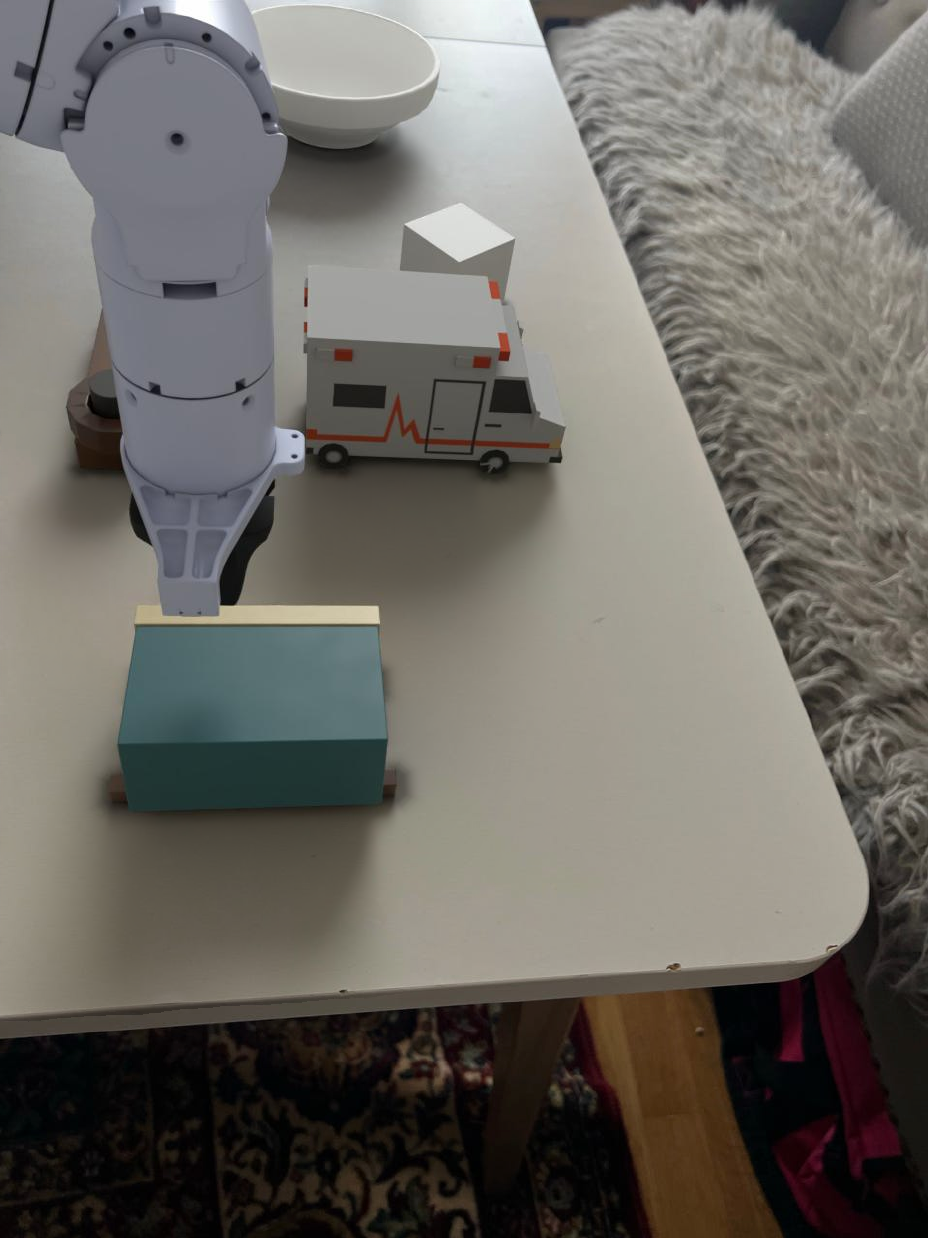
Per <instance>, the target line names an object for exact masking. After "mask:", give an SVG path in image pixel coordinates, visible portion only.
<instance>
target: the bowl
mask: <svg viewBox="0 0 928 1238" xmlns="http://www.w3.org/2000/svg"><path fill="white" fill-rule="evenodd" d="M250 12H251V14H252V17H253V19H254V21H255V25H256V28H257V31H258V35H259V39H260V43H261V47H262V51H263V55H264V58H265V62H266V66H267V70H268V74H269V77H270V81H271V85H272V89H273V92H274V96H275V100H276V104H277V108H278V115H279V125H280V128H281V130H283V132H284V133H286V134H287V135H288V136H290V137H291V138H293V139H295V140H297V141H299V142H302V143H304V144H307V145H309V146H314V147H318V148H323V149H337V150H341V149H342V150H343V149H353V148H359V147H364V146H366V145H368V144H371V143H372V142H374V141H376V140H377V139H378V138H379V137H380V135H382V133H384V132H385V131H388V130H389V129H391V128H394V127H396V126H397V125H399V124H401V123H403V122H406V121H408V120H410V119H412V118H415V117H416V116H418V115H420V114H421V113H422V112H423V111H425V110H426V109H427V108H428V107H429V105H430V104H431V102H432V101H433V98H434V95H435V93H436V90H437V87H438V84H439V78H440V72H441V64H442V62H441V58H440V56H439V53H438V51H437V50H436V49H435V47H434V46H433V45H432V43H431V42H430V41H428V40H427V39H426V38H425V36H422V34H421V33H419V32H417V31H415V30H414V29H412V28H410V27H409V26H407V25H405V24H403V23H400V22H398V21H397V20H395V19H392V18H389V17H385V16H382V15H379V14H377V13H374V12H370V11H365V10H361V9H357V8H351V7H346V6H339V5H331V4H321V3H320V4H318V3H292V4H281V5H272V6H268V7H262V8H258V9H256V10H252V11H250Z"/></svg>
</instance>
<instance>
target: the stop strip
mask: <svg viewBox="0 0 928 1238" xmlns="http://www.w3.org/2000/svg"><path fill="white" fill-rule="evenodd" d="M397 788H398V781H397V769H396V768H385V774H384V784H383V794H382V796H386V795H387V796H388V795H389V796H390V795H391V796H393V795H396V792H397ZM108 795H109V798H110V801H111V802H112V803H113V802H114V803H115V802H128V801H127V795H126V790H125V784H124V779H123V773H120V774H118V773H117V774H111V775H110V778H109V785H108Z"/></svg>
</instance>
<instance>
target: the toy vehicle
mask: <svg viewBox="0 0 928 1238" xmlns="http://www.w3.org/2000/svg"><path fill="white" fill-rule="evenodd" d="M303 284H304V285H303V286H304V287H303V288H304V290H303V307H304V308H307V321H303V347H302V348H303V349H302V352H303V354H306V403H305V404H306V408H305V409H306V415H305V417H306V418H305V455H317V458H318V462H319V463H320V464H321V465H323V467H325V468H329V469H339V468H341V467H343V466H345V465H346V464H348V463H347V462H348V461H349V458H350V457H352V456H354V457H378V458H379V457H382V458H407V459H432V460H433V459H435V460H459V461H460V460H461V461H479V466H480V469H481V470H482V471H483V472H484V473H487V474H491V475H495V474H501V473H502V472H504V471H506V470H507V469H508V467H509V465H510V462H514V463H515V462H516V463H538V464H539V463H540V464H541V463H543V464H562V461H563V458H564V456H563V452H562V447H561V446H562V443H563V440H564V436H565V431H566V428H567V426H566V422H565V418H564V414H563V410H562V409H563V408H562V404H561V401H560V396H559V392H558V389H557V388H558V387H557V383H556V378H555V373H554V369H553V365H552V360H551V356H550V355H548V354H546V353H543V352H541V351H539V350H537V349H534V348H531V347H529V346H526V345H524V344H523V341H522V338H523V333H524V325H523V323H522V322H521V321H520V320H519V319H517V314H516V310H515V307H514V305H506V304H505V305H504V304H503V305H502V304H501V299H500V294H499V289H498V283H497V282H495V281H488V277H487V276H473V275H457V274H442V273H427V272H412V271H400V270H396V269H395V270H394V269H382V268H380V269H379V268H365V267H364V268H363V267H349V266H337V265H336V266H335V265H320V264H308V265H307V277H304V283H303Z"/></svg>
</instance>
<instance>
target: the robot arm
mask: <svg viewBox="0 0 928 1238" xmlns="http://www.w3.org/2000/svg"><path fill="white" fill-rule="evenodd" d="M251 12H252V11H251V10H250V7H249V6H248V4H247V3H246V0H0V133H1V134H4V135H7V136H9V137H15V139H17V140H19V141H22V142H24V143H27V144H30V145H33V146H36V147H39V148H43V149H46V150H51V151H56V152H59V153H60V152H61V153H64V155H65V157H66V160H67V162H68V164H69V166H70V168H71V170H72V172H73V174H74V175H75V177H76V178H77V180H78V181H79V183H80V185H81V186H82V187H83V188H84V190H85V191H86V192H87V193H88V194H89V195H90V196H91V197H92V203H93V209H94V214H95V215H94V218H93V220H92V221H93V222H92V225H91V235H90V241H91V248H92V253H93V260H94V266H95V272H96V277H97V283H98V290H99V295H100V302H101V309H102V308H103V315H104V321H105V327H106V333H107V339H108V345H109V351H110V357H111V363H112V369H113V375H114V383H115V389H116V395H117V401H118V407H119V413H120V419H121V425H122V431H123V434H122V438H121V442H120V452H121V458H122V464H123V468H124V469H123V471H124V473H125V476H126V479H127V482H128V485H129V487H130V490H131V494H130V501H129V507H128V516H129V521H130V525H131V527H132V530H133V533H134V534H135V536H136V537H137V538H138V539H140V540H141V541H143V542H144V543H146V544H148V545H149V546H151V547H152V548H153V551H154V554H155V558H156V561H157V580H156V581H157V582H156V583H157V587H158V594H159V601H160V605H161V608H162V614H163V615H164V616H181V617H201V616H219V612H220V606H234V605H237V604H238V603H239V600H240V597H241V595H242V591H243V588H244V583H245V578H246V574H247V569H248V566H249V563H250V561H251V558H252V556H253V555H254V553H255V552H256V550H257V549H258V548H259V547H260V546H261V545H262V544H263V543H265V542H266V541H267V540H268V539H269V536H270V534H271V532H272V529H273V526H274V522H275V501H276V500H275V495H271V493H272V492H273V491H274V490H275V488H276V478H278V477H281V476H291V477H292V476H298V475H300V474H301V473H303V472H304V469H305V464H306V457H305V456H306V437H305V435H304V433H302V432H301V431H299V430H296V429H290V428H289V429H287V428H280V427H279V426H276V408H275V407H276V403H275V402H276V401H275V400H276V399H275V397H276V396H275V313H274V312H275V310H274V309H275V308H274V306H275V305H274V302H275V301H274V242H273V241H274V239H273V236H272V231H271V227H270V225H269V223H268V221H267V216H268V213H269V208H270V199H271V198H270V196H271V195H272V193H273V192H274V190H275V188H276V186H277V185H278V182H279V180H280V178H281V176H282V173H283V170H284V166H285V164H286V163H285V162H286V158H287V152H288V137H287V136H286V135H285V134H284V133H282V132H280V128H281V127H280V125H279V115H278V108H277V104H276V100H275V96H274V92H273V89H272V85H271V81H270V77H269V74H268V70H267V66H266V62H265V58H264V55H263V51H262V47H261V43H260V39H259V35H258V31H257V28H256V25H255V21H254V19H253V17H252V14H251Z"/></svg>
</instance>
